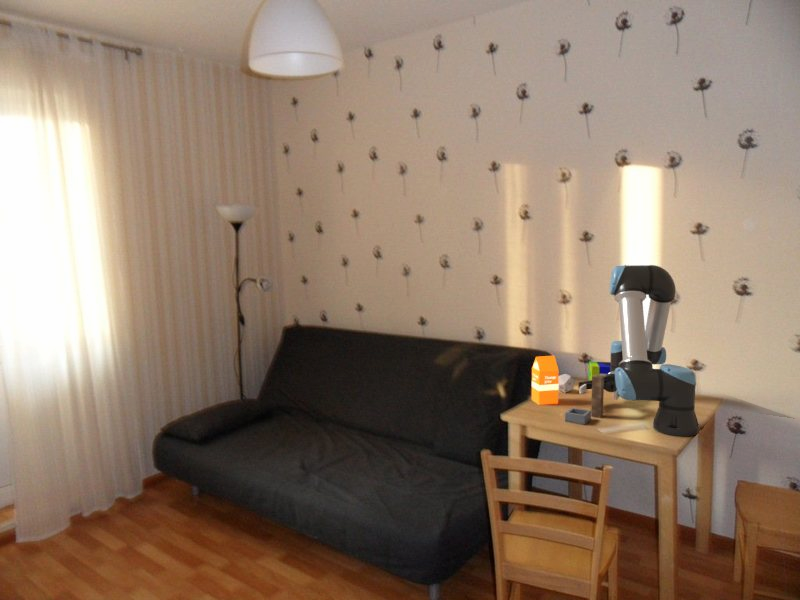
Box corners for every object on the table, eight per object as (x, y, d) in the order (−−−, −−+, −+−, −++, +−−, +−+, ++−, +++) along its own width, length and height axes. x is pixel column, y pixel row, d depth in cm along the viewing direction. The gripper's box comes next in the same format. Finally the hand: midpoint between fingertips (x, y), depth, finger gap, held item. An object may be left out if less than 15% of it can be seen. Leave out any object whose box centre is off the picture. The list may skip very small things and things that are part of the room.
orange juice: (531, 399, 245) (531, 354, 242) (550, 398, 246) (550, 353, 244) (539, 405, 237) (539, 358, 235) (558, 403, 239) (559, 357, 236)
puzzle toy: (614, 388, 261) (614, 367, 260) (591, 387, 263) (591, 366, 262) (610, 382, 271) (610, 362, 270) (588, 381, 273) (589, 361, 272)
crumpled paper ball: (553, 394, 254) (565, 380, 249) (550, 381, 261) (561, 367, 256) (569, 399, 256) (580, 385, 251) (565, 386, 263) (576, 372, 258)
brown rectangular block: (602, 415, 222) (603, 376, 220) (600, 417, 219) (601, 378, 217) (594, 414, 224) (594, 374, 222) (591, 416, 221) (592, 376, 219)
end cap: (590, 419, 217) (591, 410, 217) (584, 424, 211) (584, 415, 211) (571, 416, 222) (571, 407, 221) (565, 421, 216) (565, 412, 215)
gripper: (643, 394, 231) (630, 407, 214) (583, 386, 246) (566, 397, 229) (644, 377, 231) (630, 388, 214) (583, 369, 245) (566, 379, 228)
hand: (597, 393), depth 221 cm, fingers open, 13 cm apart
